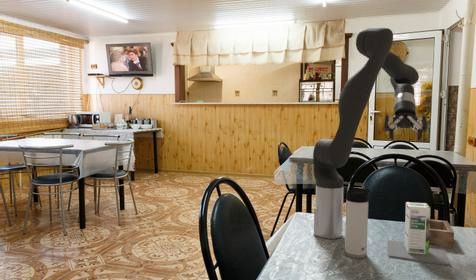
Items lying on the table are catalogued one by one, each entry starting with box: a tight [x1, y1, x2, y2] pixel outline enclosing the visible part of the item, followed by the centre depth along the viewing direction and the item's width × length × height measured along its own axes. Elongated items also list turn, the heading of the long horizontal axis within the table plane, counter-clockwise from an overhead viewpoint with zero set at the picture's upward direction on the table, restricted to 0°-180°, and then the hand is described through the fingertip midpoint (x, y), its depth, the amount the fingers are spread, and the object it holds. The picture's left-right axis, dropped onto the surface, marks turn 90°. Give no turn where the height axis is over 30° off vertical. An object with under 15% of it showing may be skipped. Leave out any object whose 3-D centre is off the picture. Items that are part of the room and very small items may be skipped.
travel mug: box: [344, 188, 371, 259], centre depth 106 cm, size 6×7×20 cm
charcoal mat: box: [387, 239, 452, 267], centre depth 108 cm, size 16×13×1 cm
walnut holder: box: [429, 218, 455, 249], centre depth 119 cm, size 12×12×5 cm
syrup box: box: [404, 201, 431, 255], centre depth 108 cm, size 6×6×14 cm
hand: (405, 139), depth 127 cm, fingers open, 8 cm apart
